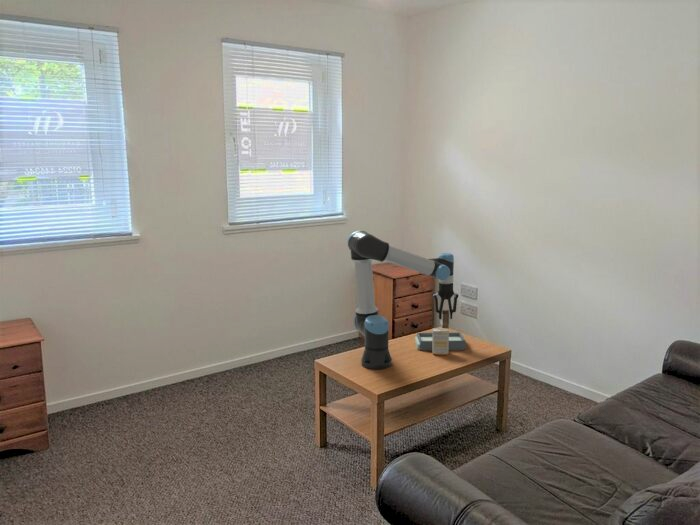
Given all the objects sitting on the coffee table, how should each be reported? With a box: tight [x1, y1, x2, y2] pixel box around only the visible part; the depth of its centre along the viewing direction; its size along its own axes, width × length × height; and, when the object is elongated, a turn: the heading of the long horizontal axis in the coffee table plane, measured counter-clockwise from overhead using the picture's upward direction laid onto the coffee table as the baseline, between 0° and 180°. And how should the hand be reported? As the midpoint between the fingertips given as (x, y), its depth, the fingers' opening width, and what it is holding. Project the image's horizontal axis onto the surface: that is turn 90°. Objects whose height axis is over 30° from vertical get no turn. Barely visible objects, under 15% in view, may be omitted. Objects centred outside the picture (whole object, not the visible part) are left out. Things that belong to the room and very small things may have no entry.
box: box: [414, 331, 467, 351], centre depth 298 cm, size 25×14×5 cm, turn 90°
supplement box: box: [431, 327, 450, 356], centre depth 286 cm, size 8×5×13 cm, turn 84°
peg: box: [441, 309, 450, 331], centre depth 296 cm, size 3×3×12 cm
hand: (445, 324), depth 297 cm, fingers closed on peg, 3 cm apart
